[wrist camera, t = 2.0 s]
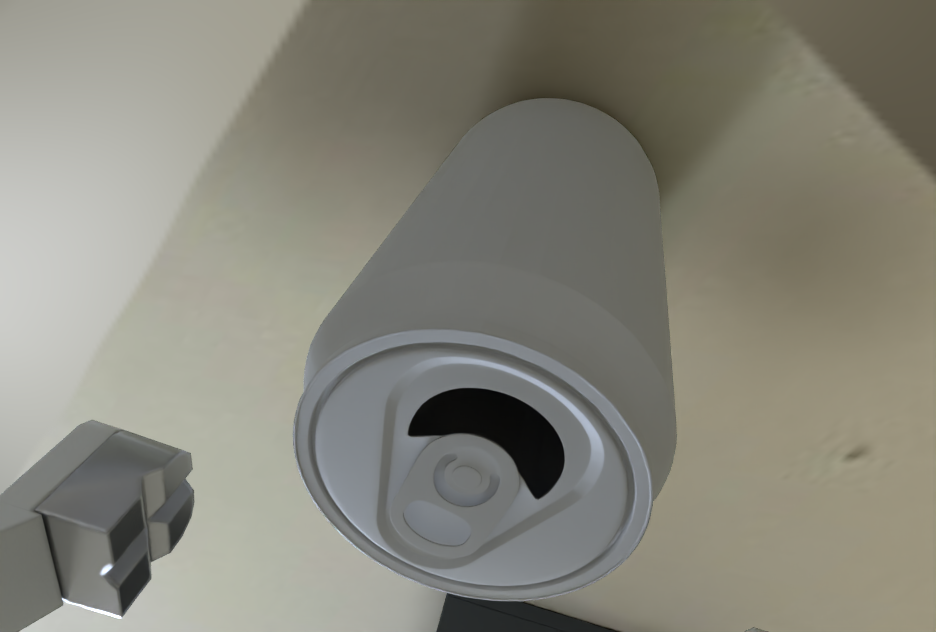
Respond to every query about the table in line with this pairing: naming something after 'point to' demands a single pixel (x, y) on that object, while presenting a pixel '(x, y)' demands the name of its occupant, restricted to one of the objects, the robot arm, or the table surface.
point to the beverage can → (502, 366)
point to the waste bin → (505, 617)
